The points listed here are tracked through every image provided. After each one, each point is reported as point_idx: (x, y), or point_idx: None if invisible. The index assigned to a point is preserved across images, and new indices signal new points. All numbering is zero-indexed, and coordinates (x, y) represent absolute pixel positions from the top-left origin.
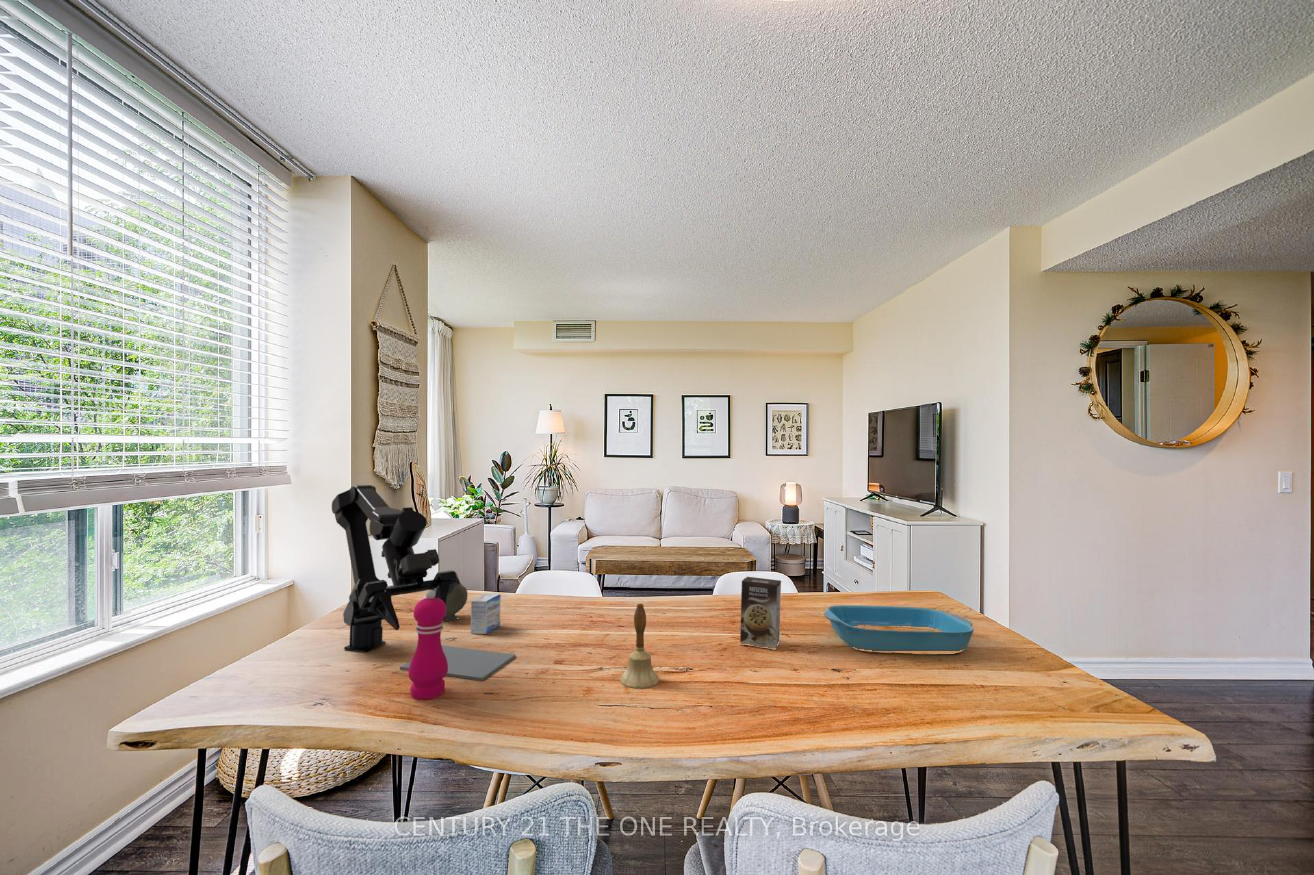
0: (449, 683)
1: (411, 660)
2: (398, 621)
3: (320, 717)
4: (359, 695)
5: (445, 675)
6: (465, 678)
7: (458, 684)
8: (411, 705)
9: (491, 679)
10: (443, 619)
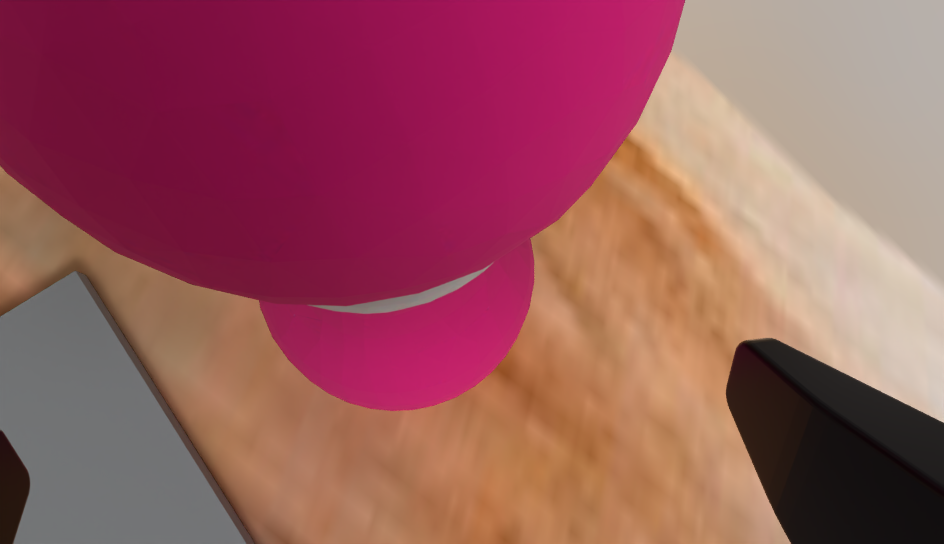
0: (255, 360)
1: (521, 289)
2: (798, 386)
3: (916, 336)
4: (733, 506)
5: (223, 497)
6: (145, 371)
7: (219, 313)
8: None
9: (29, 265)
10: (6, 449)
